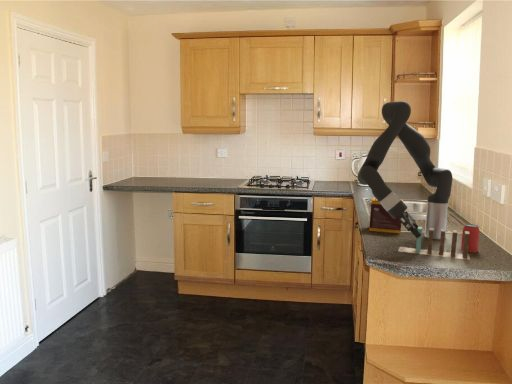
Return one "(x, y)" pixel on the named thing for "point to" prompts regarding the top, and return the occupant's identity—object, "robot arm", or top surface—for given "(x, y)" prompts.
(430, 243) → the walnut domino
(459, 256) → the birch board
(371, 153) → the robot arm
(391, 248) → the top surface
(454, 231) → the walnut domino
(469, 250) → the beer can
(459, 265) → the top surface
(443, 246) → the walnut domino
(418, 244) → the teal domino
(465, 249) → the walnut domino
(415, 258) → the top surface
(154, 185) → the top surface
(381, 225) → the supplement box
